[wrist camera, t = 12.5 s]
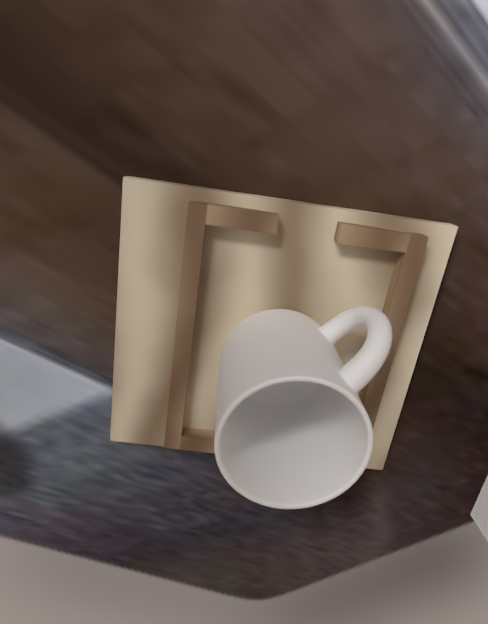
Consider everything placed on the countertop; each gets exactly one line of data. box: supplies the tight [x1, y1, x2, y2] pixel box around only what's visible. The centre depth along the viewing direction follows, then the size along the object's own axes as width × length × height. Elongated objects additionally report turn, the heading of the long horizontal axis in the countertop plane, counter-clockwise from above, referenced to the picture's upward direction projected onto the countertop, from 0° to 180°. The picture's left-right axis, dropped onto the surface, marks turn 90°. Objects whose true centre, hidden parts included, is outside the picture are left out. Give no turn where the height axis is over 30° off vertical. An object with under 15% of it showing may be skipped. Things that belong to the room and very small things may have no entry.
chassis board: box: [110, 176, 458, 470], centre depth 32 cm, size 22×20×2 cm
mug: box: [214, 306, 392, 509], centre depth 28 cm, size 12×8×10 cm
